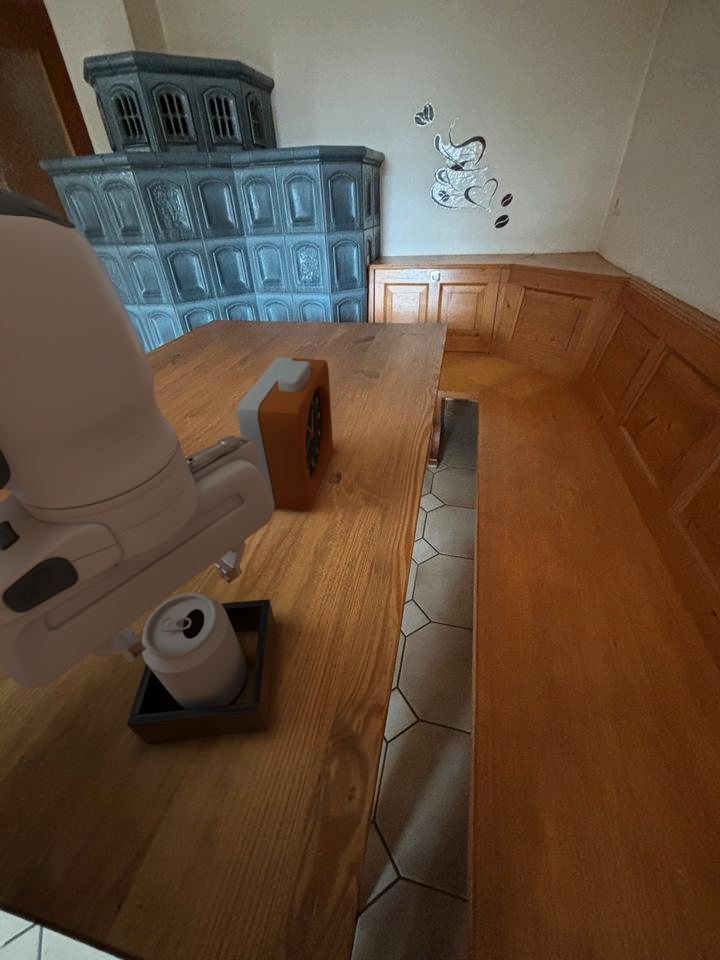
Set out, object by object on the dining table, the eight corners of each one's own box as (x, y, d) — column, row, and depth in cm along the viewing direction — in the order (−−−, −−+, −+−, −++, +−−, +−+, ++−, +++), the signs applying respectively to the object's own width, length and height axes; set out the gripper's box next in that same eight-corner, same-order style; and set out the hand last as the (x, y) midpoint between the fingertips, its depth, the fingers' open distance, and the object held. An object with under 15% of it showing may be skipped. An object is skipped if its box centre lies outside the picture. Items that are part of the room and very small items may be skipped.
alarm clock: (309, 514, 61) (295, 397, 48) (257, 508, 62) (228, 392, 49) (334, 448, 75) (328, 343, 62) (290, 444, 76) (275, 340, 63)
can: (246, 711, 39) (218, 655, 31) (170, 724, 38) (121, 671, 31) (250, 641, 45) (227, 580, 37) (184, 651, 44) (146, 591, 36)
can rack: (146, 743, 37) (125, 725, 34) (178, 631, 46) (164, 608, 43) (267, 730, 38) (258, 710, 35) (275, 622, 47) (269, 598, 44)
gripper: (226, 413, 32) (257, 525, 41) (-95, 568, 20) (46, 678, 29) (275, 439, 29) (297, 554, 38) (-68, 639, 17) (80, 739, 26)
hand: (186, 610), depth 34 cm, fingers open, 8 cm apart
